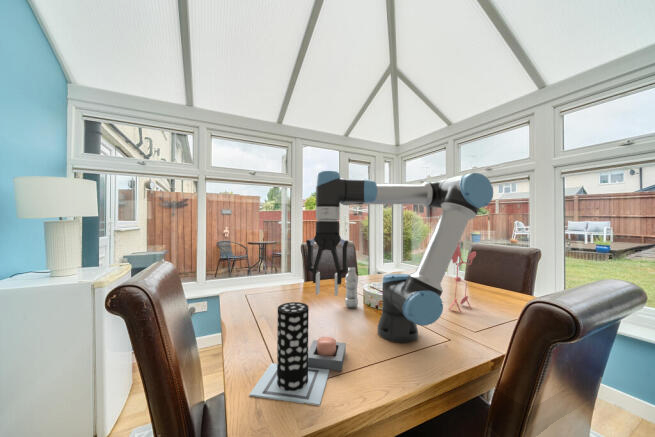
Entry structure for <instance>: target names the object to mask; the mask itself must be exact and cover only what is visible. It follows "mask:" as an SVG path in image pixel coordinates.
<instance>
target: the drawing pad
mask: <svg viewBox="0 0 655 437" xmlns="http://www.w3.org/2000/svg"><path fill="white" fill-rule="evenodd" d="M330 371H331V370H328V369H319V368H310V367H308V383H307V384H306V385H305V386H304V387H303V388H301V389H299V390H296V391H286V390H283V389H281V388H280V387H279V386H278V384H277V363H275V362H271V363H270V364H269V366H268V367H267V369H266V370H265V371H264V372H263V374H262V376H261V377H260V379H259V380H258V381H257V382H256V384H255V386H254V387H253V388H252V390H251V391H250V393H249V397H255V398H263V399H267V400H268V399H269V400H270V399H271V400H276V401H282V400H283V402H290V401H291V402H290V403H299V404H304V403H306V404H305V405H311V404H314V405H313V406H318V405H321V403H322V399H323V395H324V392H325V388H326V386H327V381H328V378H329V374H330Z"/></svg>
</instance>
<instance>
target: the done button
mask: <svg viewBox="0 0 655 437" xmlns="http://www.w3.org/2000/svg"><path fill="white" fill-rule="evenodd" d="M336 342H337V340H336V339H335V338H334V337H330V336H322V337H320V338H318V339H317V355H324V356H333V357H336Z"/></svg>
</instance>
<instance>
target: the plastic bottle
mask: <svg viewBox="0 0 655 437" xmlns="http://www.w3.org/2000/svg"><path fill="white" fill-rule="evenodd" d="M344 280H345V292H346V293H345V299H344V300H345V301H344V303H345V306H346V307H347V308H349V309H355V308H358V307H359V306H358V305H359V298H358V285H359V284H358V282H359V276H358V275H357V273H356V266H347V272H346V274H345V277H344Z"/></svg>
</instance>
